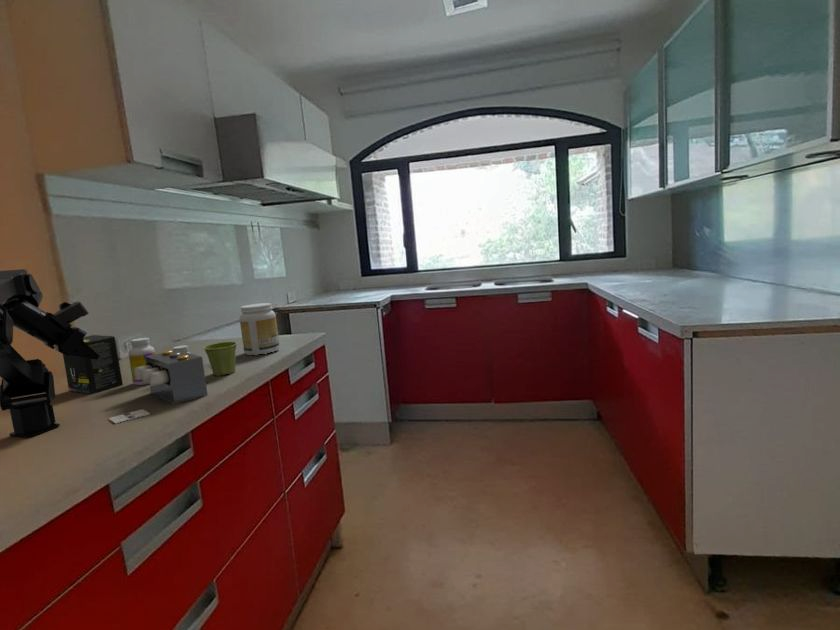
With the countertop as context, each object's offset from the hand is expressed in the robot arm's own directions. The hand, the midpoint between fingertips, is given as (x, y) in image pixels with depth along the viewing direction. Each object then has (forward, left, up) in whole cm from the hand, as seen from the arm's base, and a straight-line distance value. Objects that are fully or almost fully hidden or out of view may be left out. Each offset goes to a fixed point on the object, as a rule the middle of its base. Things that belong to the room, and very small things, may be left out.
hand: (98, 357), depth 118 cm
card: (-5, -13, -13) cm, 19 cm away
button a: (+4, -14, -8) cm, 16 cm away
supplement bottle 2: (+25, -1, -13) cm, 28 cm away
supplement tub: (+58, -5, -13) cm, 59 cm away
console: (+11, -11, -13) cm, 20 cm away
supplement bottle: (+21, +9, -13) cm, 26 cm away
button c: (+9, -4, -8) cm, 12 cm away
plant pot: (+31, -10, -13) cm, 35 cm away
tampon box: (+15, +21, -13) cm, 28 cm away
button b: (+6, -9, -8) cm, 13 cm away
